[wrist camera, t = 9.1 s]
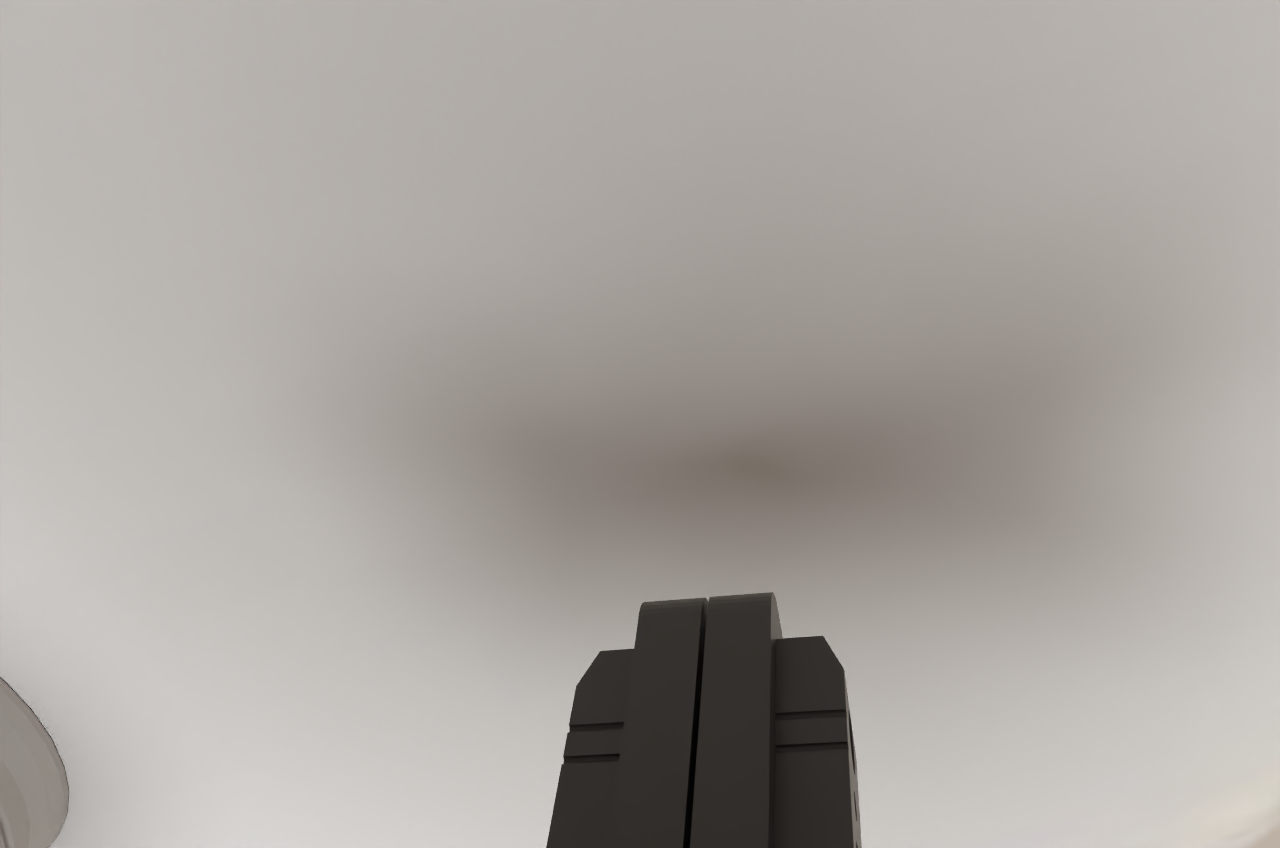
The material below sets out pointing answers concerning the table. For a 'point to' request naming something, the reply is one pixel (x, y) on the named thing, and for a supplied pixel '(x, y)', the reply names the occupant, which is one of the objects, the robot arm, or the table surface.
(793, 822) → the robot arm
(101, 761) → the table surface
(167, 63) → the table surface
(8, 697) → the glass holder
